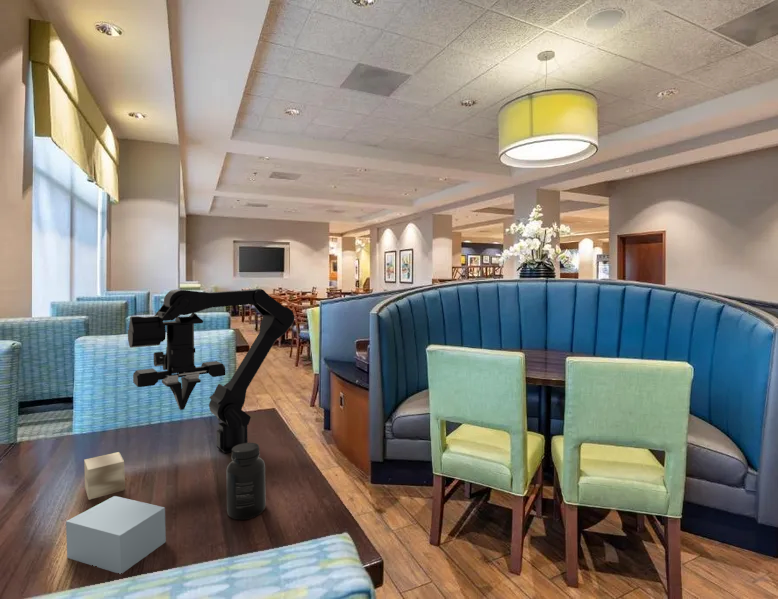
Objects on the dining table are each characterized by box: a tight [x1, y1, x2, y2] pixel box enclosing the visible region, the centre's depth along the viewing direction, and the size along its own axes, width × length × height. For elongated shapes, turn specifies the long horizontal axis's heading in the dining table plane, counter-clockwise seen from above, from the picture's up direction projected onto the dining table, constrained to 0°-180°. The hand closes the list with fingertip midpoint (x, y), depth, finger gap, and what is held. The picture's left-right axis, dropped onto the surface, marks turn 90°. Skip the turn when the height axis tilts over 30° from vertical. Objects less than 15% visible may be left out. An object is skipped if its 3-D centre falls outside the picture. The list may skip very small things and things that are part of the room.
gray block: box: [65, 495, 167, 575], centre depth 67 cm, size 6×11×8 cm
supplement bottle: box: [225, 442, 267, 521], centre depth 79 cm, size 7×7×12 cm
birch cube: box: [83, 451, 126, 501], centre depth 86 cm, size 6×6×6 cm
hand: (181, 409), depth 100 cm, fingers closed
